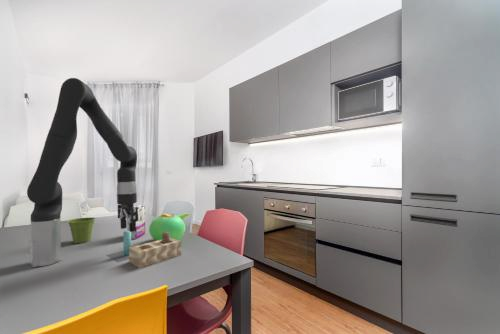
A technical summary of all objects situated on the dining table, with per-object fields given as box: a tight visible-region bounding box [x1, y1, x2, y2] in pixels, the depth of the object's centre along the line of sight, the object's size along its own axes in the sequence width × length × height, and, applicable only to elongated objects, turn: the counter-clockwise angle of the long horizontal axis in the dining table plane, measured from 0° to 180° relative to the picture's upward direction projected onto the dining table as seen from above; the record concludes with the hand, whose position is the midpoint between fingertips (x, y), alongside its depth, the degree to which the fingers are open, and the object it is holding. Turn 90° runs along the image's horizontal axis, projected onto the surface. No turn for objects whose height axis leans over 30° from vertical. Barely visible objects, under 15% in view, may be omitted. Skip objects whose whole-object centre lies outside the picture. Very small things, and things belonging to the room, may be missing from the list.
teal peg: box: [122, 230, 132, 256], centre depth 105 cm, size 3×3×10 cm
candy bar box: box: [126, 204, 146, 240], centre depth 134 cm, size 11×5×16 cm, turn 179°
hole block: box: [128, 238, 182, 269], centre depth 102 cm, size 18×9×6 cm, turn 140°
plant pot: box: [67, 217, 96, 244], centre depth 126 cm, size 12×12×11 cm
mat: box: [105, 250, 129, 263], centre depth 106 cm, size 12×12×1 cm
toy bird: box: [148, 212, 191, 241], centre depth 125 cm, size 18×17×15 cm
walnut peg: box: [162, 231, 170, 244], centre depth 105 cm, size 3×3×10 cm
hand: (128, 229), depth 106 cm, fingers open, 8 cm apart
